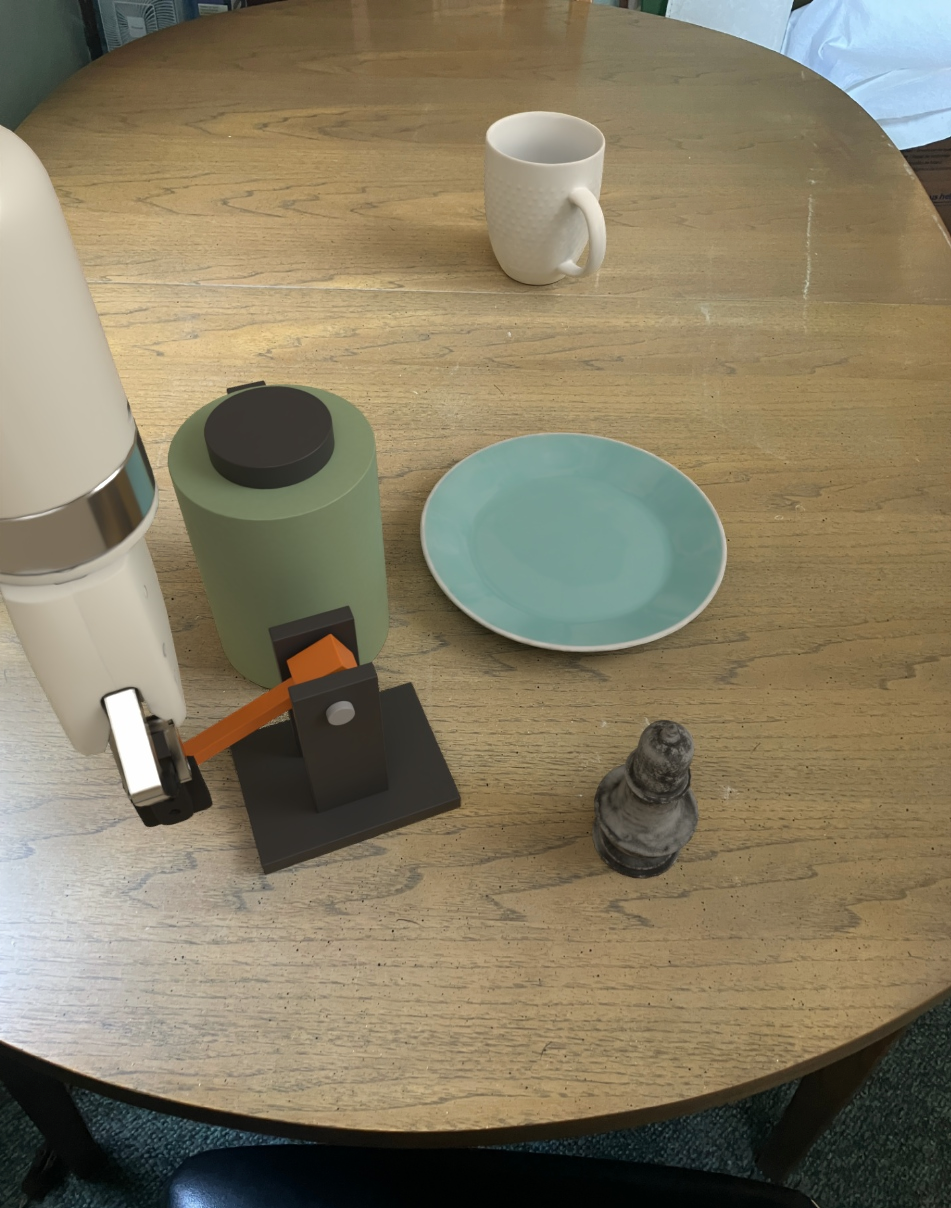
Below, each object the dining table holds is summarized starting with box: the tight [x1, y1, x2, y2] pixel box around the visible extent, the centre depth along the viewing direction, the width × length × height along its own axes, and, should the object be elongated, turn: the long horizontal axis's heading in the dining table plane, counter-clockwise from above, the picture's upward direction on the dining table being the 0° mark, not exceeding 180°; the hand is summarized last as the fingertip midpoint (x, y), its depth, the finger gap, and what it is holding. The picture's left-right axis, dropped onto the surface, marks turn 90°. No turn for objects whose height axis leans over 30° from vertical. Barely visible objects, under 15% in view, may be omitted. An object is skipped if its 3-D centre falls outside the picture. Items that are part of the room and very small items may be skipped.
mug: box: [483, 110, 607, 286], centre depth 90 cm, size 15×11×13 cm
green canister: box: [167, 380, 390, 690], centre depth 60 cm, size 12×13×18 cm
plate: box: [419, 431, 728, 653], centre depth 69 cm, size 22×22×3 cm
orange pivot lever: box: [151, 634, 357, 766], centre depth 50 cm, size 12×5×2 cm, turn 112°
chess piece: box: [591, 719, 700, 879], centre depth 51 cm, size 6×6×12 cm
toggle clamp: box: [228, 606, 462, 876], centre depth 53 cm, size 12×9×13 cm
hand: (162, 731), depth 48 cm, fingers open, 9 cm apart
